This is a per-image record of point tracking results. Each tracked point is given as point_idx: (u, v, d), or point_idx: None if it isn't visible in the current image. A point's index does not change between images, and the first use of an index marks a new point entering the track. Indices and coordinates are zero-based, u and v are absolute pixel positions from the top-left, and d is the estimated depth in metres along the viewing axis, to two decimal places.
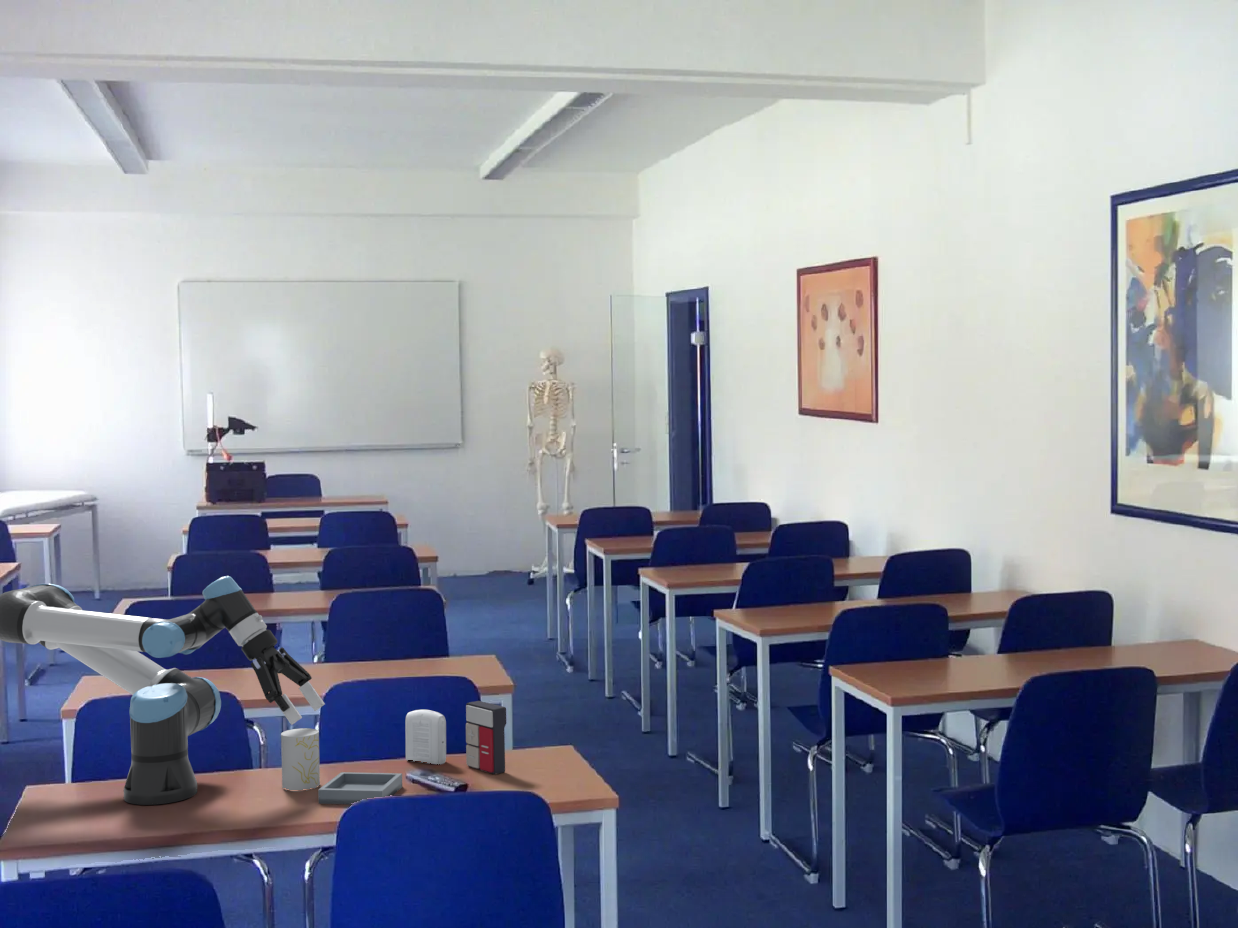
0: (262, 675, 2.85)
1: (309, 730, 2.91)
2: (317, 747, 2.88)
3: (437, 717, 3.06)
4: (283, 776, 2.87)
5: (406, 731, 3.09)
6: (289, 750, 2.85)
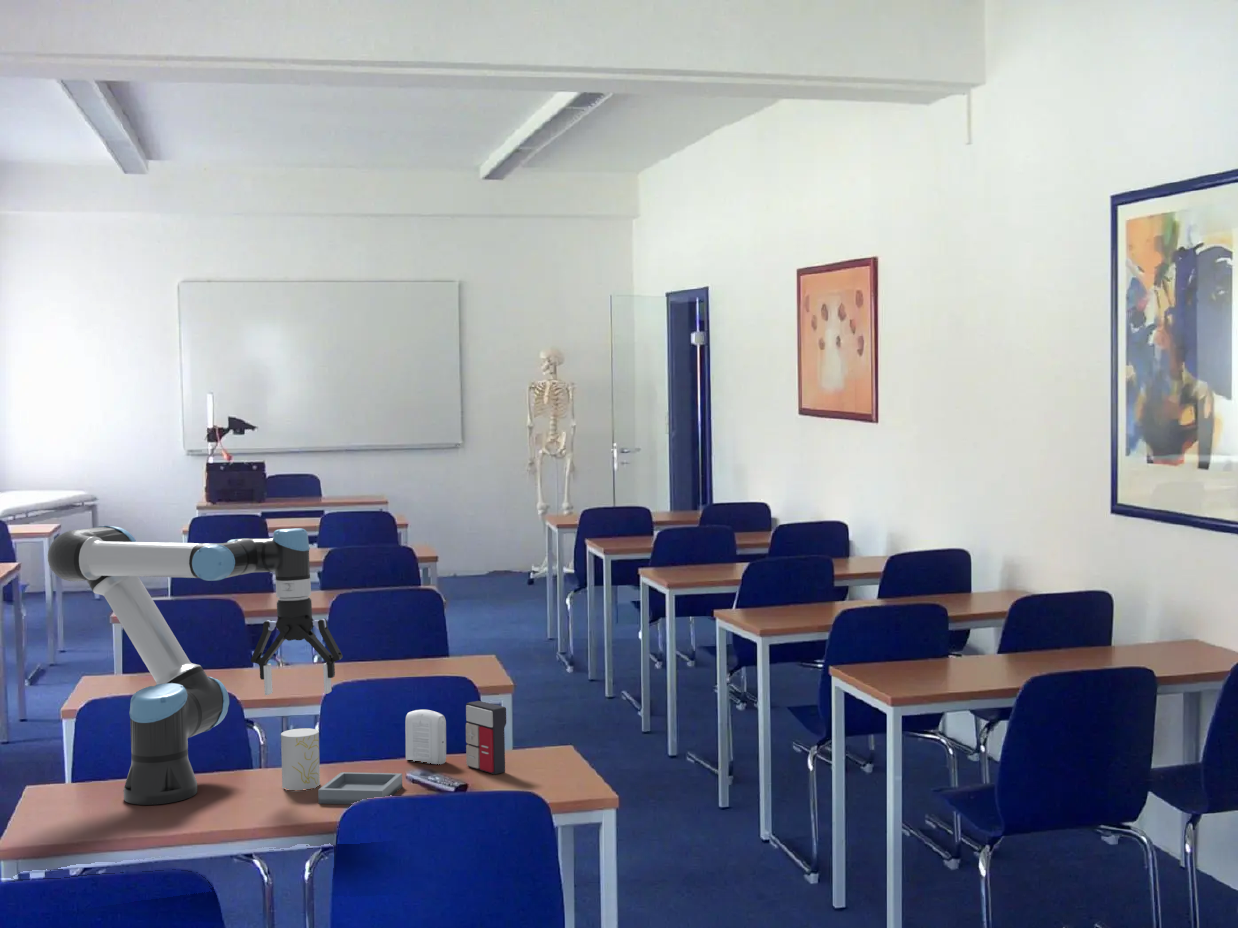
0: None
1: (309, 730, 2.91)
2: (317, 747, 2.88)
3: (437, 717, 3.06)
4: (283, 776, 2.87)
5: (406, 731, 3.09)
6: (289, 750, 2.85)
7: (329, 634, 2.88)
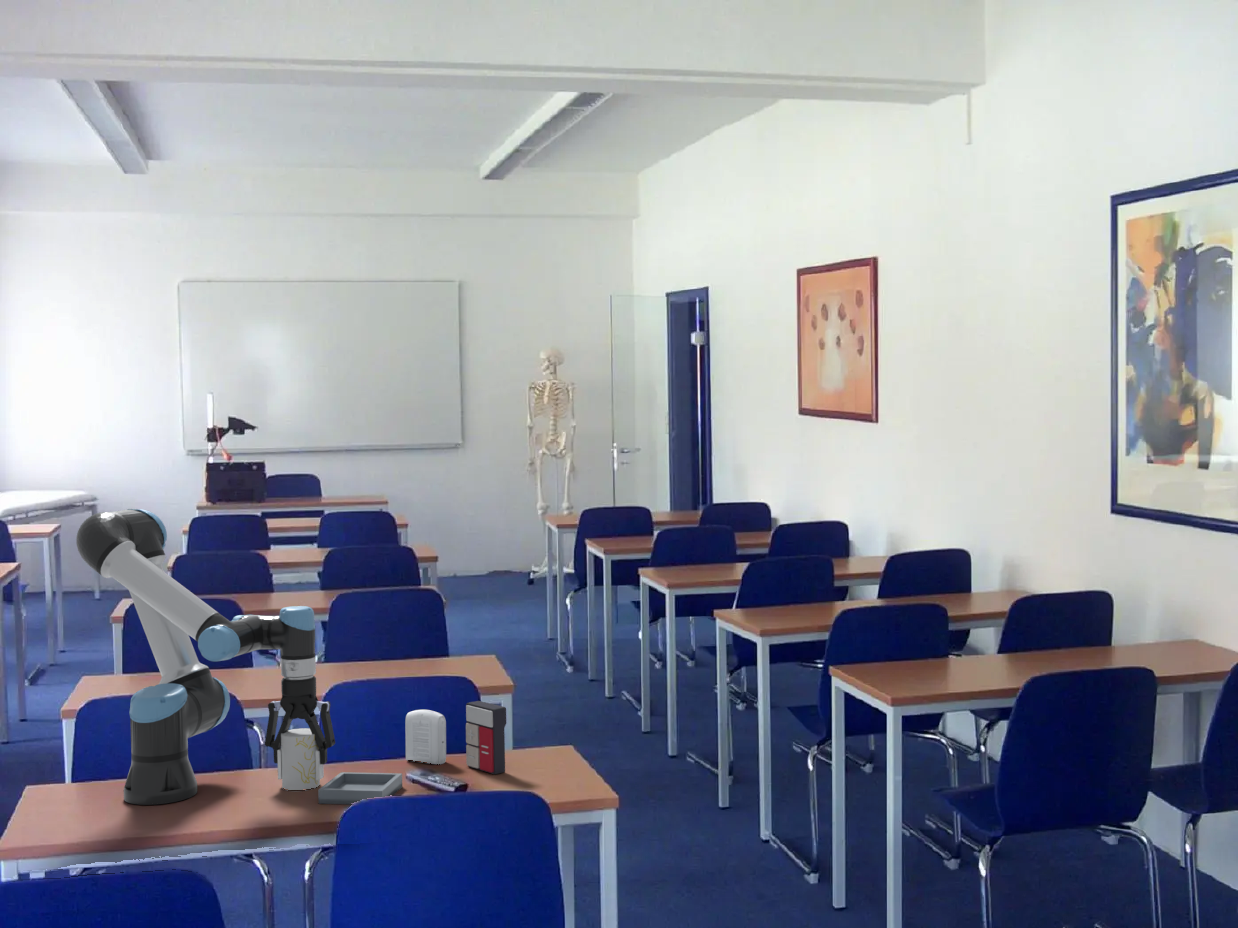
0: None
1: (309, 730, 2.91)
2: (317, 747, 2.88)
3: (437, 717, 3.06)
4: (283, 776, 2.87)
5: (406, 731, 3.09)
6: (289, 750, 2.85)
7: (329, 719, 2.88)
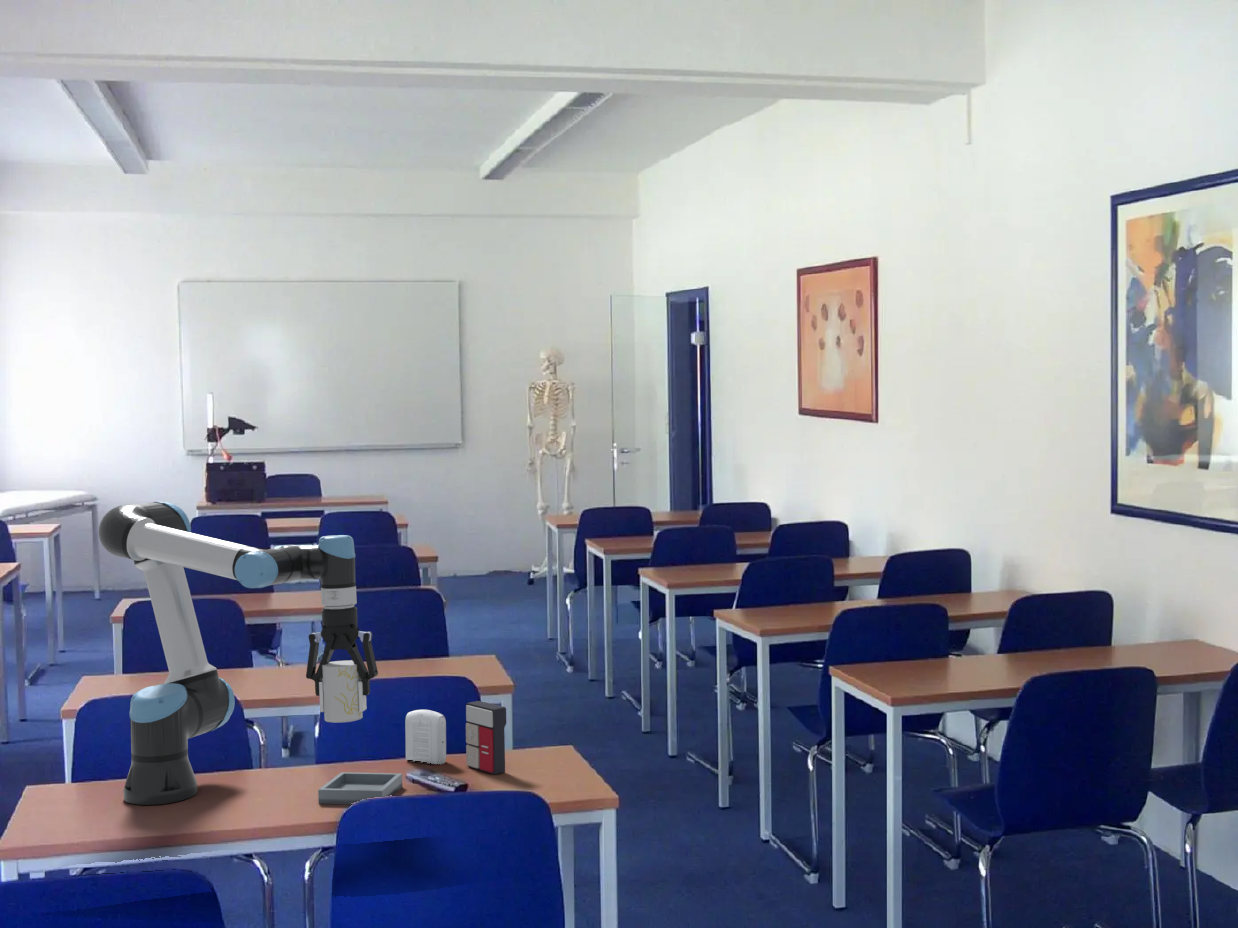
0: None
1: (350, 661, 2.85)
2: (359, 678, 2.82)
3: (437, 717, 3.06)
4: (325, 708, 2.81)
5: (406, 731, 3.09)
6: (331, 681, 2.79)
7: (371, 649, 2.82)
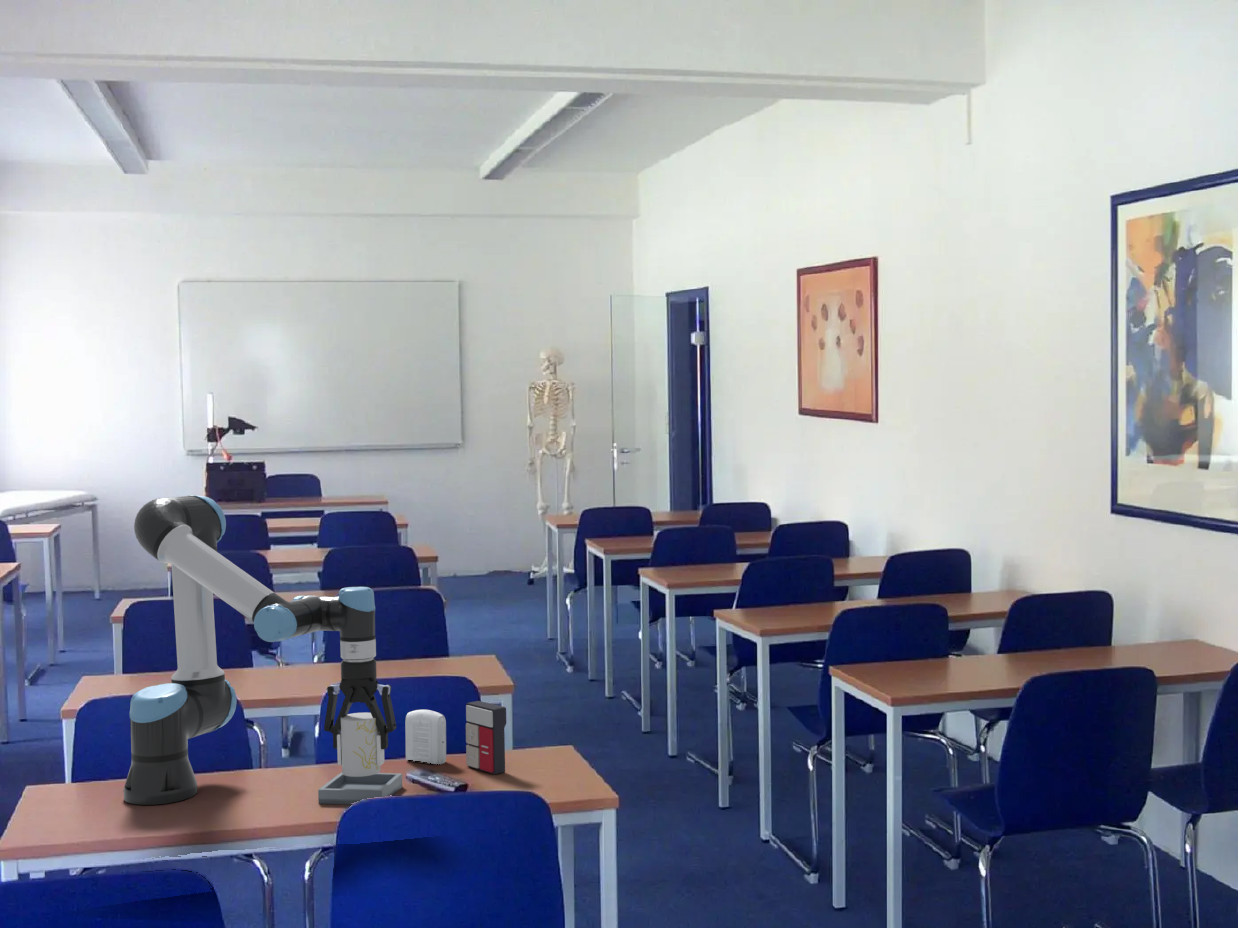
0: None
1: (369, 714, 2.83)
2: (378, 731, 2.80)
3: (437, 717, 3.06)
4: (343, 761, 2.79)
5: (406, 731, 3.09)
6: (349, 734, 2.77)
7: (390, 702, 2.80)
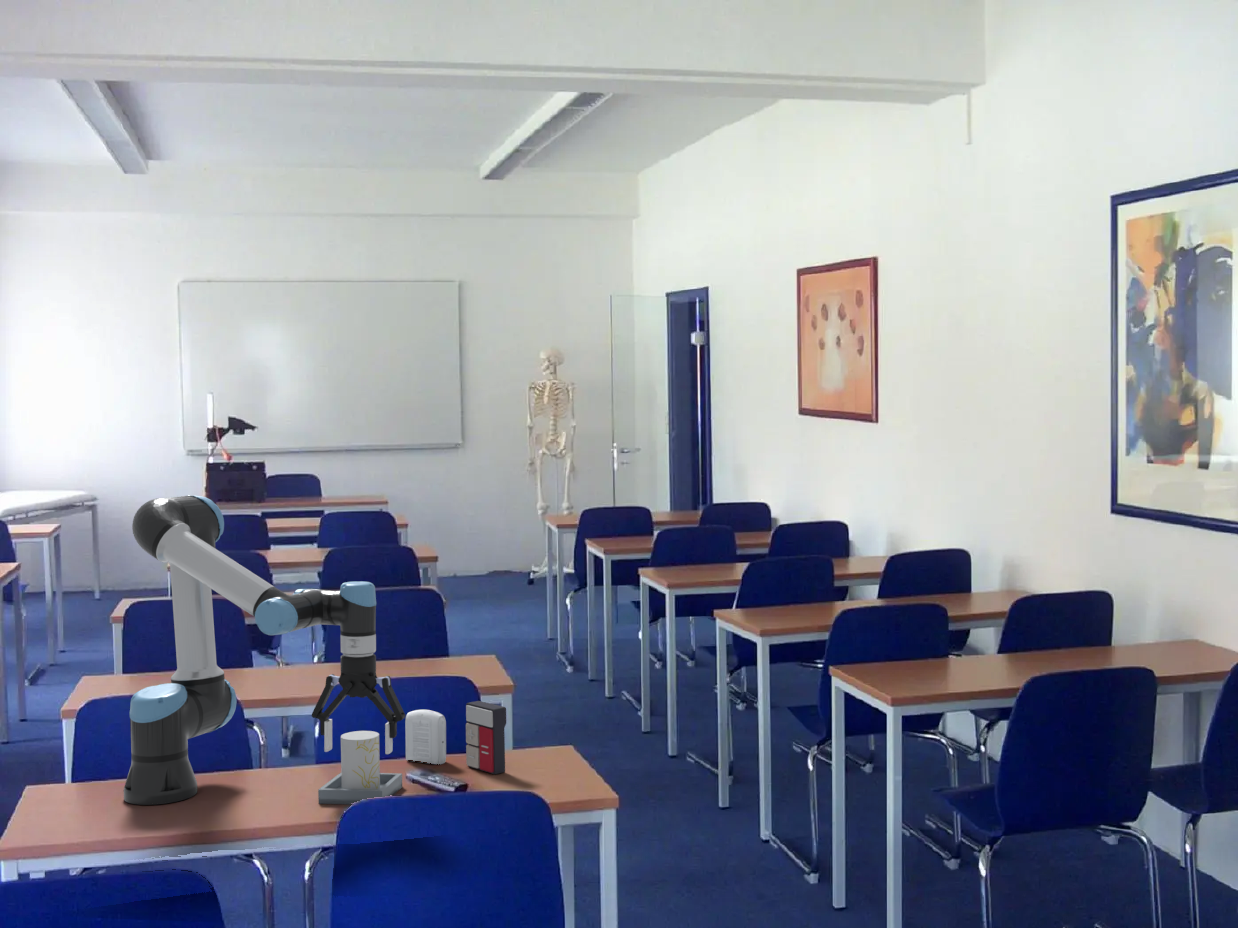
0: None
1: (369, 733, 2.83)
2: (378, 750, 2.80)
3: (437, 717, 3.06)
4: (343, 780, 2.79)
5: (406, 731, 3.09)
6: (349, 753, 2.77)
7: (393, 693, 2.80)
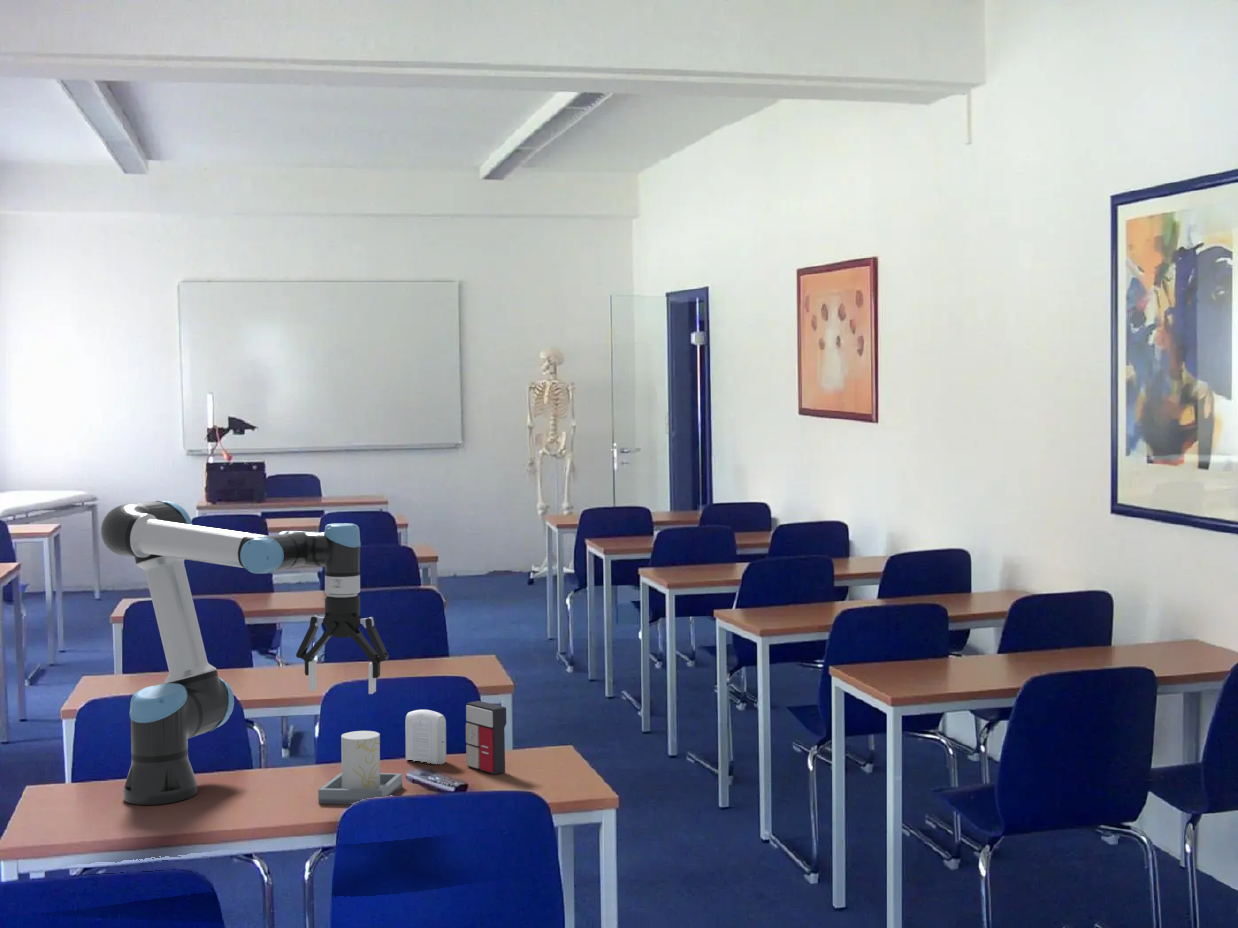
0: None
1: (370, 733, 2.83)
2: (378, 750, 2.80)
3: (437, 717, 3.06)
4: (343, 780, 2.79)
5: (406, 731, 3.09)
6: (350, 753, 2.77)
7: (376, 633, 2.82)
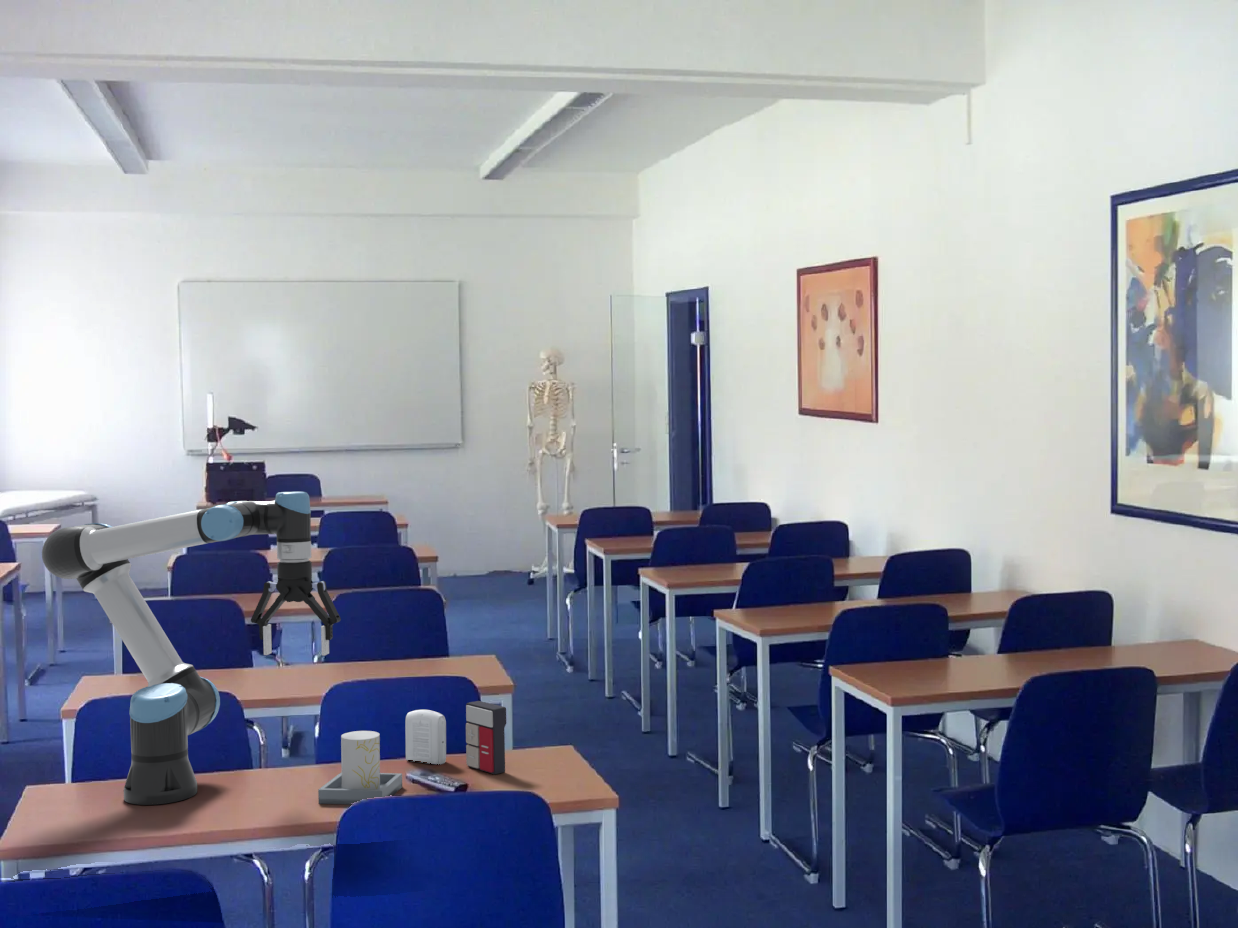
0: None
1: (370, 733, 2.83)
2: (378, 750, 2.80)
3: (437, 717, 3.06)
4: (343, 780, 2.79)
5: (406, 731, 3.09)
6: (349, 753, 2.77)
7: (328, 597, 2.92)
